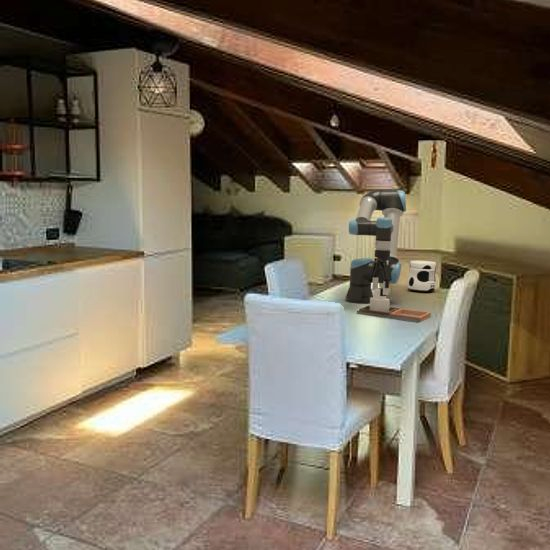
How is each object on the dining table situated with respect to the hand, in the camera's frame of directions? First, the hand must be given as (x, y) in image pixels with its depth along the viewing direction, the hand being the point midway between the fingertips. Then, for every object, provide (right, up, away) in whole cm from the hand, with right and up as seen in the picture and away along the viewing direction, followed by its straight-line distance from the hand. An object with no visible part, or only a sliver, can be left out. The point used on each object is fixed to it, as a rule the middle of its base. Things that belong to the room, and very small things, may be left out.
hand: (380, 292), depth 298 cm
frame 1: (0, -10, +2) cm, 10 cm away
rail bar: (+2, -12, -10) cm, 15 cm away
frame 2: (+13, -12, -7) cm, 19 cm away
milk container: (+37, -1, +72) cm, 81 cm away
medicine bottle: (0, -10, +2) cm, 10 cm away
